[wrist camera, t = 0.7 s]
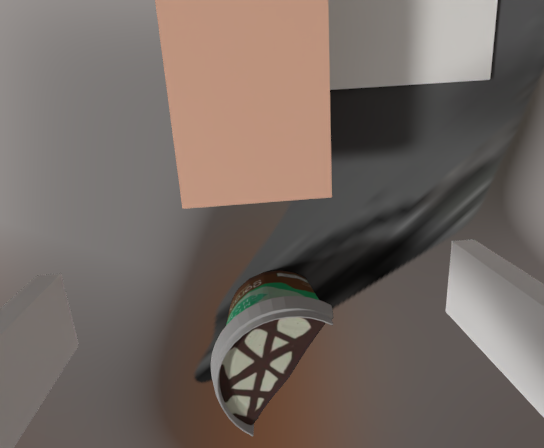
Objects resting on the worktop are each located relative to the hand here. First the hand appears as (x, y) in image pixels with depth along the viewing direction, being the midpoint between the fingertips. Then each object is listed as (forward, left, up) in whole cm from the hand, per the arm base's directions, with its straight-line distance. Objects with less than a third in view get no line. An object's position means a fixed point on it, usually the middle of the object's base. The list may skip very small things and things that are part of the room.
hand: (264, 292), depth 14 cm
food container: (+12, -1, -23) cm, 26 cm away
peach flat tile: (-9, 0, -17) cm, 19 cm away
